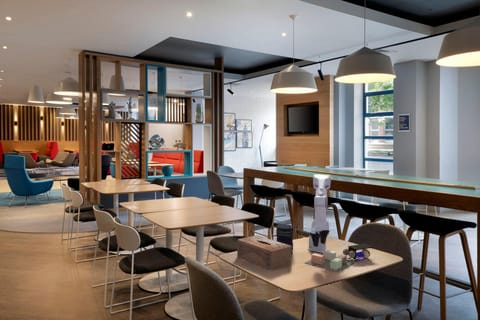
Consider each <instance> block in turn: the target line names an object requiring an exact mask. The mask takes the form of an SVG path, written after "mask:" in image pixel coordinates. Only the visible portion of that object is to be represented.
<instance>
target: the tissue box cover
mask: <svg viewBox="0 0 480 320" xmlns="http://www.w3.org/2000/svg"><path fill="white" fill-rule="evenodd" d="M236 247H237V250H236V251H237V253H236V256H237V258H238V259H241V260H244V261H246V262H248V263H251V264H254V265H255V264H256V266H259V267H260V266H261V268H263V269H265V268H266V270H268V271H270V270H271V272H272V271H275V269H276V270H278V268H279V269H282V268H284V267H289V266H291V265H292V254H291V253H292V246H290V245H287V244H284V243H280V242H277V240H273V239H271V238H267V237H264V236H260V235H258V234H257V235H252V236H248V237H247V236H246V237H243V238H239V239H238V238H237V246H236ZM288 265H289V266H288Z"/></svg>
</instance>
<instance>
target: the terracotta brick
mask: <svg viewBox="0 0 480 320" xmlns="http://www.w3.org/2000/svg"><path fill="white" fill-rule="evenodd" d="M310 257H311V258H310V260H311V262H313V263H317V264H321V265H322V264H324V262H325V256H324V255H322V254H321V253H317V252H314V253H312V254H311V256H310Z"/></svg>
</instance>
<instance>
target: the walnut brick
mask: <svg viewBox="0 0 480 320" xmlns="http://www.w3.org/2000/svg"><path fill="white" fill-rule="evenodd" d="M336 258H339V259H342V266H343V265H345V264H346V263H347V260H348V259H347V258H348V255H347V256H346V255H344V254H340V255H336Z"/></svg>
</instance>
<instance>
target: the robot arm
mask: <svg viewBox="0 0 480 320" xmlns="http://www.w3.org/2000/svg"><path fill="white" fill-rule="evenodd" d="M331 179H332V176H331V174H315V173H314V174H313V176H312V184H313V189H315V196H314V198H313V199H314V204H313V205H314V219H312V222H311V229H310V232H309V237H308V249H307V250H308V251H312V252H314V253H319V254H323V251H324V250H329V248H327V238H328V236H329V233H330V232H331V231H330V222H329V220H327V207H328V194H327V193H328V190H330V188H331V184H332V183H331V181H332V180H331Z"/></svg>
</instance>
